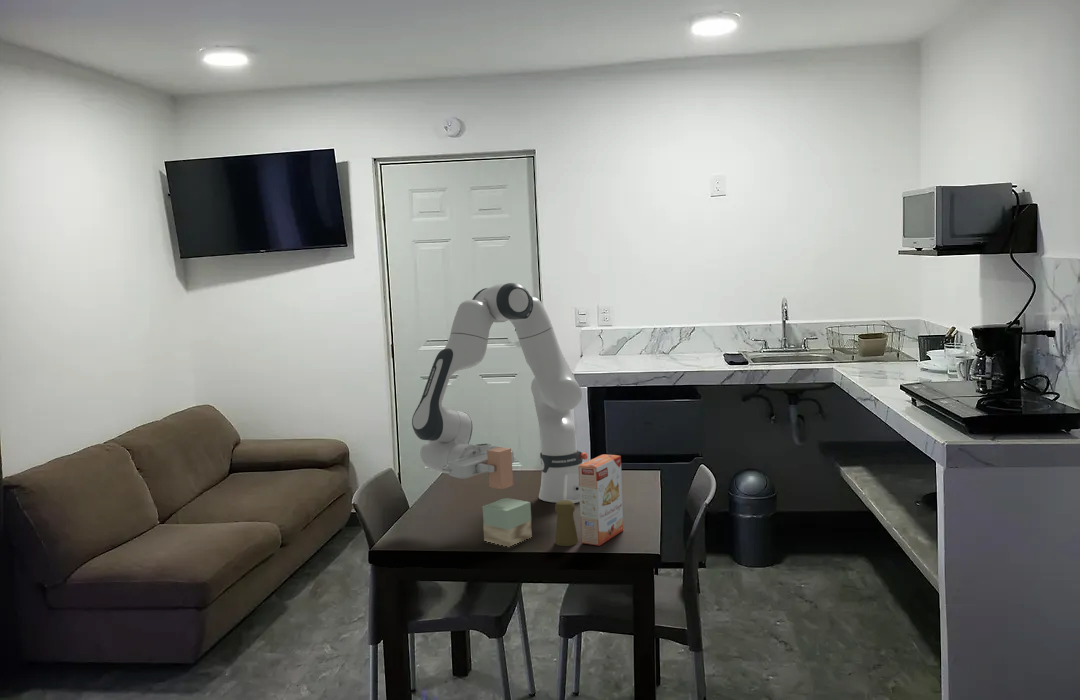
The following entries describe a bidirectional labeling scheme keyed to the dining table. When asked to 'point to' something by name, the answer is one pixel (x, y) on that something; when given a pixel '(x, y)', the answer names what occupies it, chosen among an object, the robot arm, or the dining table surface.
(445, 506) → the dining table surface
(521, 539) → the beech block
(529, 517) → the green block
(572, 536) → the cork
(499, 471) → the rust block
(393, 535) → the dining table surface
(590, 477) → the cracker box
